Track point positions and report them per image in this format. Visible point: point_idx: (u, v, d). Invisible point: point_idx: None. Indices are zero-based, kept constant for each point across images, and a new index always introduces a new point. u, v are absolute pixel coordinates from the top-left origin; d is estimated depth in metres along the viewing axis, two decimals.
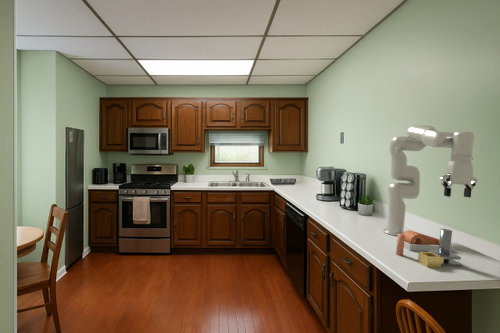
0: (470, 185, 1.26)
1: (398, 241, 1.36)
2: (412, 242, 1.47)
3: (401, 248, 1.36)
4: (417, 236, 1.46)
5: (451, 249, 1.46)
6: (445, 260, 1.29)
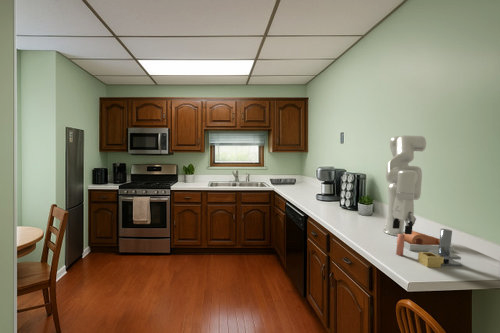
0: None
1: (398, 241, 1.36)
2: (413, 242, 1.47)
3: (401, 248, 1.36)
4: (418, 236, 1.47)
5: (451, 249, 1.46)
6: (445, 260, 1.29)
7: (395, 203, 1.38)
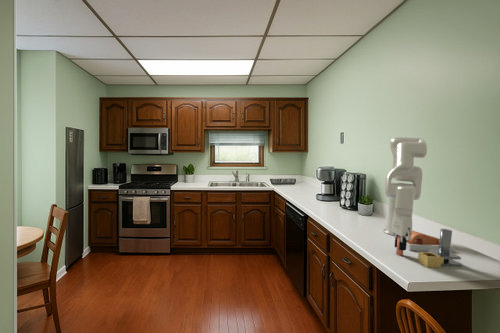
0: None
1: (398, 241, 1.36)
2: (413, 242, 1.47)
3: None
4: (418, 236, 1.47)
5: (451, 249, 1.46)
6: (445, 260, 1.29)
7: (394, 218, 1.39)
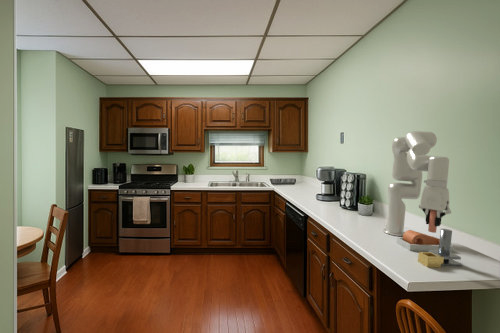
0: None
1: (432, 217, 1.24)
2: (414, 242, 1.47)
3: None
4: (418, 236, 1.47)
5: (451, 249, 1.46)
6: (445, 260, 1.29)
7: (426, 192, 1.26)
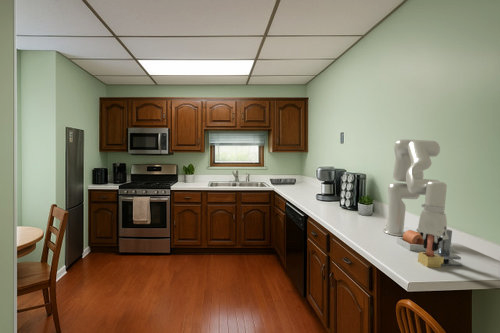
0: None
1: (430, 241, 1.25)
2: (414, 242, 1.47)
3: None
4: (418, 236, 1.47)
5: (451, 249, 1.46)
6: (445, 260, 1.29)
7: (423, 217, 1.26)
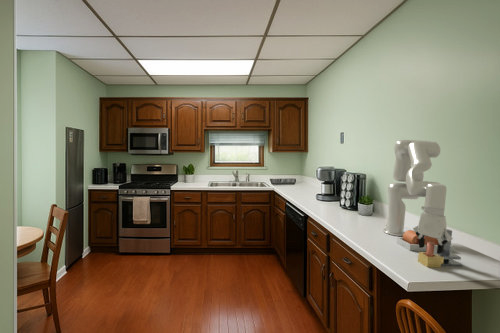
0: None
1: (429, 250, 1.25)
2: (414, 242, 1.47)
3: None
4: None
5: (451, 249, 1.46)
6: (445, 260, 1.29)
7: (423, 219, 1.26)
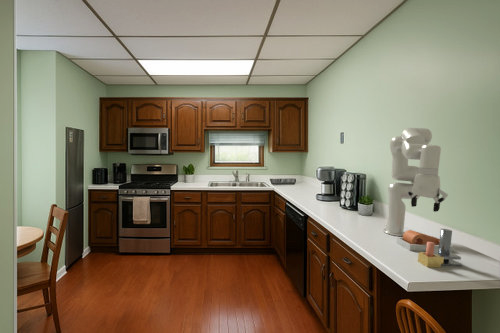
0: None
1: (429, 250, 1.25)
2: (414, 242, 1.47)
3: None
4: (418, 236, 1.47)
5: (451, 249, 1.46)
6: (445, 260, 1.29)
7: (418, 180, 1.29)
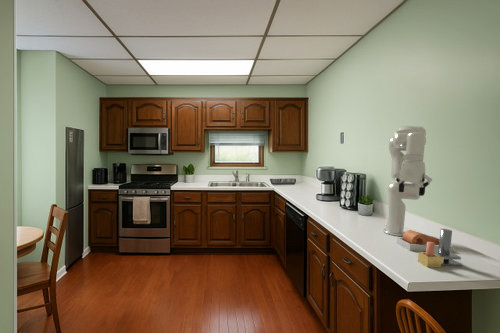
0: None
1: (429, 250, 1.25)
2: (414, 242, 1.47)
3: None
4: (418, 236, 1.47)
5: (451, 249, 1.46)
6: (445, 260, 1.29)
7: (404, 166, 1.36)
